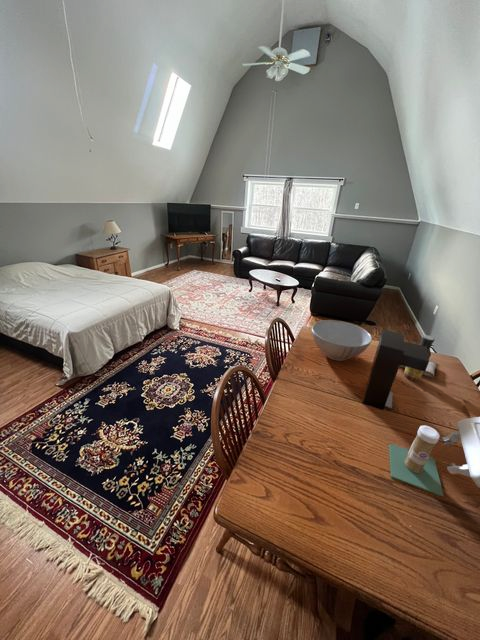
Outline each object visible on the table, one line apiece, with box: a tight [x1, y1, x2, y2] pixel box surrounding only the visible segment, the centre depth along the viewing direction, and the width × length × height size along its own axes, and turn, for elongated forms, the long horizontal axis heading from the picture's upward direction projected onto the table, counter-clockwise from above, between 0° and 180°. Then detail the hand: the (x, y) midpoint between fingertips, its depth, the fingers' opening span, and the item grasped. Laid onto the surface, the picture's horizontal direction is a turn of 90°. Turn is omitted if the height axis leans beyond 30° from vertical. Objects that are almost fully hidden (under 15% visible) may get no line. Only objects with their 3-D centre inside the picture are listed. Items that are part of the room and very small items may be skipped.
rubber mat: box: [388, 443, 444, 498], centre depth 76 cm, size 12×12×1 cm
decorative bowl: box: [311, 319, 373, 362], centre depth 128 cm, size 27×27×12 cm
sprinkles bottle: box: [405, 425, 440, 473], centre depth 73 cm, size 5×5×13 cm
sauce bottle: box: [403, 334, 436, 382], centre depth 111 cm, size 7×6×20 cm
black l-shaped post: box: [362, 329, 430, 411], centre depth 96 cm, size 14×14×25 cm
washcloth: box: [399, 360, 437, 378], centre depth 124 cm, size 12×18×3 cm, turn 51°
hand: (445, 454), depth 70 cm, fingers open, 8 cm apart
